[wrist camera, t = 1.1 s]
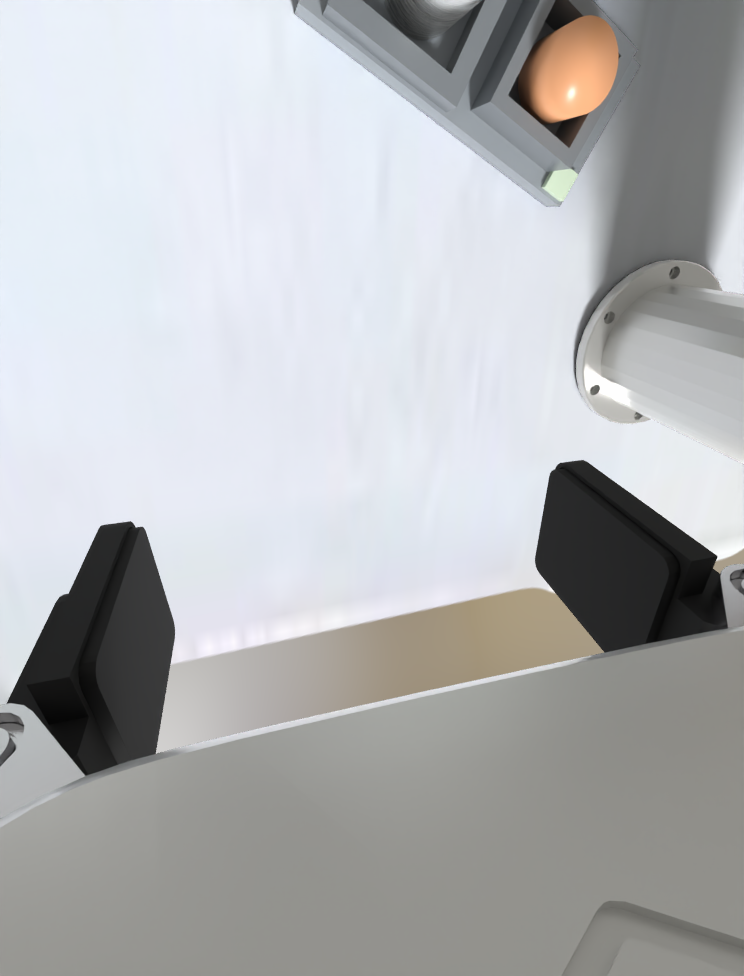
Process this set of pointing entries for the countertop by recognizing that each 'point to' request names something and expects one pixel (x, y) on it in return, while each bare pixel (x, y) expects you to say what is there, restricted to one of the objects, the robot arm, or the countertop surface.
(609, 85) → the button
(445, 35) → the gray cubby shelf
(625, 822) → the robot arm
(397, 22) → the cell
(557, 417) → the countertop surface
